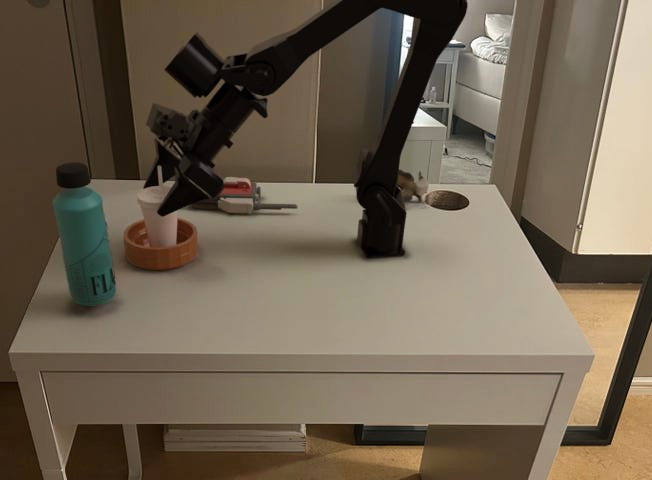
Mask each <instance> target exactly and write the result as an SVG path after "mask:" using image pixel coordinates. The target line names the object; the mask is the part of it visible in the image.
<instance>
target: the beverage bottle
mask: <svg viewBox="0 0 652 480" xmlns="http://www.w3.org/2000/svg"><path fill="white" fill-rule="evenodd" d="M55 175H56V179H55V180H56V185H57V186H58V187H60V188H62V190H61V191H59V192H58V194H57V195H56V196H55V197H54V198H53V200H52V207H53V211H54V216H55V220H56V221H55V222H56V225H57V230H58V235H59V241H60V246H61V252H62V263H63V264H64V272H65V280H66V284H67V288H68V289H67V290H68V291H69V294H70V297H71V299H72V301H73V302H74V303H75V304H78V305H80V306H87V307H88V306H89V307H95V306H100V305H104V304H106V303H108V302H110V301H111V300H113V299H114V297H115V296H116V293H117V286H116V285H117V282H116V273H115V272H114V268H115V267H114V265H113V263H114V262H113V260H112V258H113V256H112V252H111V248H110V242H111V241H110V239H109V232H108V227H107V226H108V222H107V220H106V218H107V216H106V215H105V211H104V207H103V206H104V205H103V197H102V195H101V194H100V193H98V192H97V191H96V190H94V189H93V188H91V187H88V186H89V185H90V184H91V182H92V179H91V176H90V172H89V168H88V165H86V164H85V163H83V162H76V161H73V162H66V163H63V164H60V165H58V166H57V167H56V168H55Z"/></svg>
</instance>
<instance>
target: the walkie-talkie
mask: <svg viewBox="0 0 652 480" xmlns="http://www.w3.org/2000/svg"><path fill="white" fill-rule="evenodd" d="M222 179H223V181H224V190H223V191H222V192H221V193H220V195H219V196H218V197H217V198H216V199H214V198H213V197H211V196H210V195H209V194H208V195H209V196H210V197H211V198H210V199H209V200H207V199H204V200H201V201H199V202H196V203H193V204H191V205H190V206H191V207H193V208H195V209H202V210H204V209H206V210H221V211H224V212H227V213H230V214H231V213H233V214H249V215H250V214H253V211H260V210H270V211H273V210H275V211H281V210H282V209H284V210H285V209H290V210H297V209H298V204H296V203H260V202H259V201H257V200H258V199H261V193H262V192H261V190H262V189H261V186H257V182H255V181H253V182H252V181H251V179H250V178H248V177H245V176H244V177H243V176H241V177H240V176H239V177H237V176H226V177H224V178H222Z"/></svg>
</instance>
